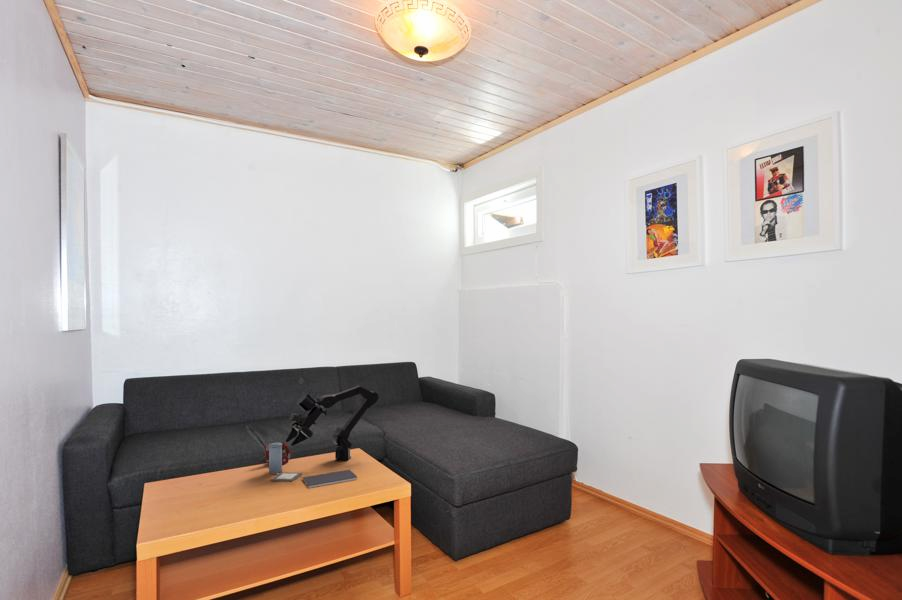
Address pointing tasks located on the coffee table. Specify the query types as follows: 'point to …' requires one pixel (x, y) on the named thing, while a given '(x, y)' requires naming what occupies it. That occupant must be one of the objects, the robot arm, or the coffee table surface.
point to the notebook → (329, 478)
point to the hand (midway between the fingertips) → (288, 443)
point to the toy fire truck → (284, 456)
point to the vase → (275, 458)
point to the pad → (286, 477)
